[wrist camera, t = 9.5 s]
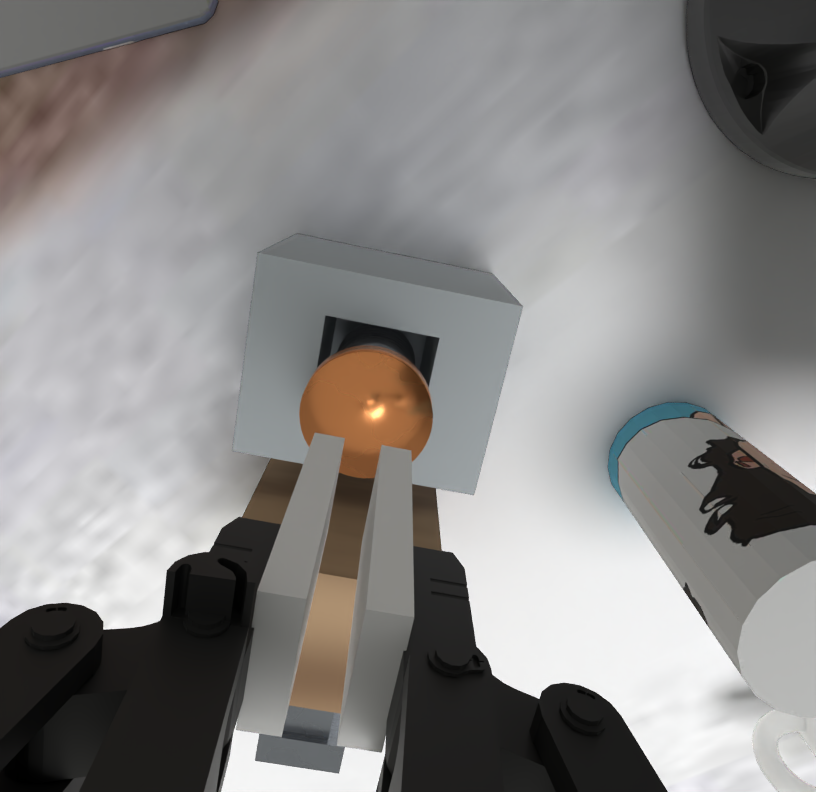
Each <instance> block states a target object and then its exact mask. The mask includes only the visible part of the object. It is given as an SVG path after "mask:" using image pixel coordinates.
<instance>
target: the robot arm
mask: <svg viewBox="0 0 816 792" xmlns="http://www.w3.org/2000/svg"><path fill="white" fill-rule="evenodd" d="M687 45H688V52H689V59H690V64H691V69H692V73H693V76H694V80H695V83H696V86H697V89H698V91H699V94H700V96H701V98H702V101H703V103H704V105H705V107H706V109H707V110H708V112H709V114H710V115H711V117H712V119H713V120H714V122H715V123H716V124H717V126H718V127H719V128H720V130H721V131H722V132H723V133H724V134H725V136H726V137H727V138H728V139H729V140H730V141H731V142H732V143H733V144H734V145H735V146H737V147H738V148H739V149H740V150H741V151H743V152H744V153H745V154H747V155H748V156H750V157H751V158H753V159H754V160H756V161H758V162H760V163H761V164H763V165H766V166H768V167H770V168H772V169H775V170H778V171H780V172H783V173H787V174H791V175H795V176H801V177H809V178H816V0H688V4H687ZM344 441H345V438H342V437H336V436H331V435H325V434H320V433H314V436H313V439H312V442H311V444H310V447H309V450H308V453H307V455H306V458H305V461H304V464H303V466H302V469H301V472H300V475H299V477H298V480H297V483H296V486H295V488H294V491H293V494H292V496H291V499H290V502H289V505H288V507H287V510H286V513H285V516H284V518H283V521H282V524H276V523H270V522H265V521H259V520H253V519H248V518H242V517H238V518H237V519H235V520H234V521H232V522H231V523H229V524H227V525H226V526H224V527H223V528H222V529H221V531H220V533H219V535H218V537H217V539H216V541H215V542H214V546H212V548H211V550H210V552H203V553H198V554H193V555H188V556H186V557H184V558H182V559H180V560H178V561H176V562H174V564H173V565H172V566H171V567H170V568H169V569H168V570H167V576H166V586H165V596H164V606H163V616H162V618H161V620H160V621H159V622H156V623H153V624H150V625H146V626H142V627H135V628H126V629H110V630H103V621H102V620H101V618H100V617H99V615H98V614H97V613H96V612H95V611H93V610H91V609H89V608H87V607H85V606H82V605H76V604H70V603H58V604H46V605H43V606H39V607H36V608H33V609H29V610H27V611H25V612H23V613H22V614H20V615H18V616H16V617H15V618H13V619H11V620H10V621H9V622H8V623H6V624H5V625H4V626H2V627H1V628H0V792H221V789H222V785H223V781H224V777H225V773H226V769H227V765H228V760H229V756H230V750H231V743H232V736H233V731H234V728H235V725H236V722H237V727H236V730H240V731H246V732H253V733H259V734H266V735H272V736H279V737H282V733H283V729H284V725H285V720H286V716H287V711H288V707H289V702H290V698H291V693H292V689H293V684H294V680H295V676H296V671H297V667H298V662H299V658H300V653H301V649H302V644H303V640H304V635H305V631H306V627H307V622H308V618H309V613H310V609H311V604H312V600H313V595H314V591H315V586H316V582H317V578H318V573H319V569H320V564H321V560H322V555H323V551H324V546H325V542H326V537H327V533H328V528H329V522H330V517H331V511H332V506H333V500H334V495H335V490H336V484H337V479H338V473H339V468H340V463H341V457H342V452H343V446H344ZM466 587H467V582H466V575H465V569H464V567H463V566H462V565H461V563H460V562H459V560H458V559H457V558H456V556H455V555H454V554H453V553H451V552H445V551H439V550H434V549H428V548H422V547H417V546H413V511H412V454H411V450H406V449H401V448H395V447H390V446H385V445H381V450H380V455H379V460H378V465H377V470H376V475H375V480H374V485H373V489H372V494H371V499H370V504H369V509H368V514H367V519H366V524H365V529H364V533H363V538H362V546H361V554H360V562H359V570H358V578H357V586H356V594H355V602H354V610H353V618H352V627H351V635H350V643H349V651H348V659H347V667H346V675H345V683H344V691H343V699H342V707H341V716H340V724H339V732H338V740H337V746H343V747H349V748H356V749H362V750H369V751H375V752H382V749H383V745H384V740H385V736H386V751H385V757H384V762H383V766H382V770H381V774H380V778H379V782H378V786H377V790H376V792H667V790H666V788H665V787H664V785H663V783H662V782H661V780H660V778H659V777H658V775H657V774H656V772H655V770H654V769H653V767H652V765H651V764H650V762H649V761H648V759H647V757H646V756H645V754H644V752H643V751H642V749H641V748H640V746H639V744H638V743H637V741H636V739H635V738H634V736H633V735H632V733H631V731H630V730H629V728H628V726H627V725H626V723H625V722H624V720H623V718H622V717H621V715H620V714H619V713H618V712H617V710H616V709H615V708H614V707H613V706H612V704H611V703H610V702H608V701H607V700H606V699H604V698H603V697H601V696H600V695H599V694H597V693H596V692H594V691H592V690H589V689H587V688H585V687H582V686H580V685H575V684H569V683H559V684H553V685H550V686H549V687H547V688H546V689H545V690H543V691H542V693H541V696H540V699H538V698H535V697H533V696H531V695H528V694H526V693H523V692H521V691H519V690H516V689H514V688H512V687H510V686H508V685H506V684H504V683H503V682H501V681H500V680H499V679H497V678H496V677H495V676H493V675H492V671H491V668H490V665H489V662H488V659H487V658H486V657H485V655H484V654H483V653H482V652H481V651H480V650H479V649H478V648H477V647H476V642H475V636H474V629H473V622H472V615H471V609H470V602H469V601H468V600H469V595H468V589H467V588H466ZM237 718H238V720H237Z"/></svg>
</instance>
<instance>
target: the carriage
mask: <svg viewBox="0 0 816 792" xmlns="http://www.w3.org/2000/svg"><path fill="white" fill-rule="evenodd" d="M302 466H303V464H301V463H295V462H290V461H284V460H279V459H273V458H271V459H270V461H269V463H268V465H267V467H266V469H265V471H264V473H263V475H262V478H261V480H260V482H259V484H258V486H257V488H256V490H255V492H254V494H253V496H252V498H251V500H250V502H249V504H248V506H247V508H246V510H245V512H244V514H243V516H242V518H248V519H253V520H259V521H265V522H270V523H276V524H282V521H283V518H284V516H285V513H286V510H287V507H288V505H289V502H290V499H291V496H292V494H293V491H294V488H295V486H296V483H297V480H298V477H299V475H300V472H301V469H302ZM374 480H375V478H357V477H352V476H347V475H344V474H342V473H338V479H337V484H336V490H335V495H334V500H333V506H332V511H331V517H330V522H329V528H328V533H327V537H326V542H325V546H324V551H323V555H322V560H321V564H320V569H319V573H318V578H317V582H316V586H315V591H314V595H313V600H312V604H311V609H310V613H309V618H308V622H307V627H306V631H305V635H304V640H303V644H302V649H301V653H300V658H299V662H298V667H297V671H296V676H295V680H294V684H293V689H292V693H291V698H290V702H289V705H290V706H296V707H302V708H308V709H315V710H321V711H327V712H334V713H340V714H341V707H342V699H343V691H344V683H345V675H346V667H347V659H348V651H349V643H350V635H351V627H352V618H353V610H354V602H355V594H356V586H357V578H358V570H359V562H360V554H361V546H362V538H363V533H364V529H365V524H366V519H367V514H368V509H369V504H370V499H371V494H372V489H373V485H374ZM412 511H413V546H417V547H422V548H428V549H434V550H439V551H442V550H441V539H440V529H439V518H438V508H437V497H436V488H432V487H427V486H421V485H416V484H412Z"/></svg>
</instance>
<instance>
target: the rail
mask: <svg viewBox="0 0 816 792" xmlns="http://www.w3.org/2000/svg"><path fill="white" fill-rule="evenodd" d="M340 716H341V714H340V713H334V712H327V711H321V710H315V709H308V708H302V707H296V706H290V705H289V707H288V711H287V716H286V720H285V725H284V729H283V733H282V737H279V736H272V735H266V734H259V740H258V746H257V752H256V758H255V761H260V762H267V763H274V764H280V765H287V766H293V767H300V768H306V769H313V770H319V771H326V772H333V773H339V771H340V766H341V762H342V757H343V753H344V748H345V747H343V746H337V740H338V732H339V724H340Z"/></svg>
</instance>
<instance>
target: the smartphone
mask: <svg viewBox="0 0 816 792" xmlns="http://www.w3.org/2000/svg"><path fill="white" fill-rule="evenodd" d="M217 4H218V0H0V78H1V77H5V76H9V75H13V74H17V73H20V72H24V71H28V70H32V69H36V68H39V67H43V66H47V65H51V64H54V63H58V62H62V61H66V60H69V59H73V58H77V57H81V56H84V55H88V54H92V53H95V52H99V51H103V50H108V49H112V48H115V47H119V46H123V45H127V44H130V43H134V42H138V41H140V40H144V39H147V38H151V37H155V36H159V35H162V34H166V33H170V32H174V31H177V30H181V29H185V28H188V27H192V26H196V25H200V24H203V23H206V22H207V21H208V20H209V19H210V18H211V17H212V16H213V14H214V12H215V9H216V6H217Z"/></svg>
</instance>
